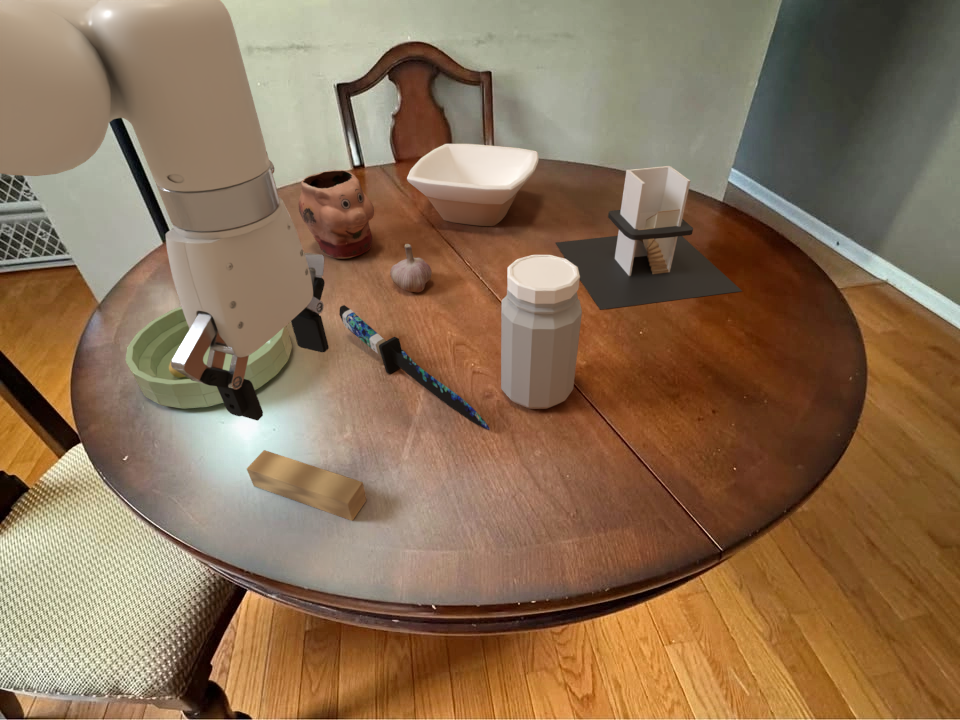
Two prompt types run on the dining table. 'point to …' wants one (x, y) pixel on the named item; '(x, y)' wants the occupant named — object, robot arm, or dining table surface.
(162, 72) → the robot arm
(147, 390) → the shallow round dish
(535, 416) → the dining table surface
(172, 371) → the chickpea
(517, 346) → the jar
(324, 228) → the decorative planter
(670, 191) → the model building
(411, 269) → the garlic bulb
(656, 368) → the dining table surface
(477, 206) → the bowl
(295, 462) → the stick
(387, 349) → the knife
